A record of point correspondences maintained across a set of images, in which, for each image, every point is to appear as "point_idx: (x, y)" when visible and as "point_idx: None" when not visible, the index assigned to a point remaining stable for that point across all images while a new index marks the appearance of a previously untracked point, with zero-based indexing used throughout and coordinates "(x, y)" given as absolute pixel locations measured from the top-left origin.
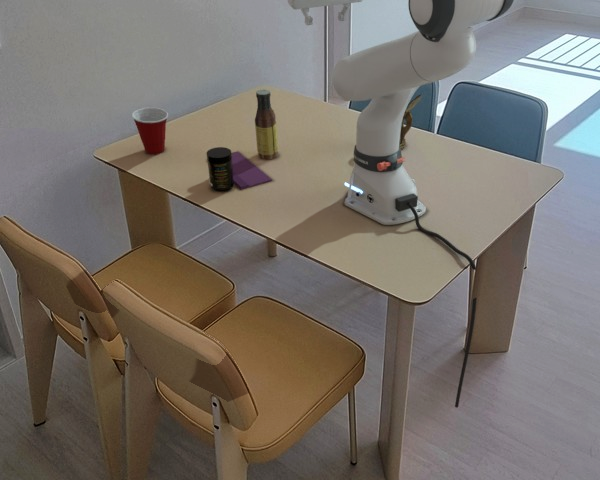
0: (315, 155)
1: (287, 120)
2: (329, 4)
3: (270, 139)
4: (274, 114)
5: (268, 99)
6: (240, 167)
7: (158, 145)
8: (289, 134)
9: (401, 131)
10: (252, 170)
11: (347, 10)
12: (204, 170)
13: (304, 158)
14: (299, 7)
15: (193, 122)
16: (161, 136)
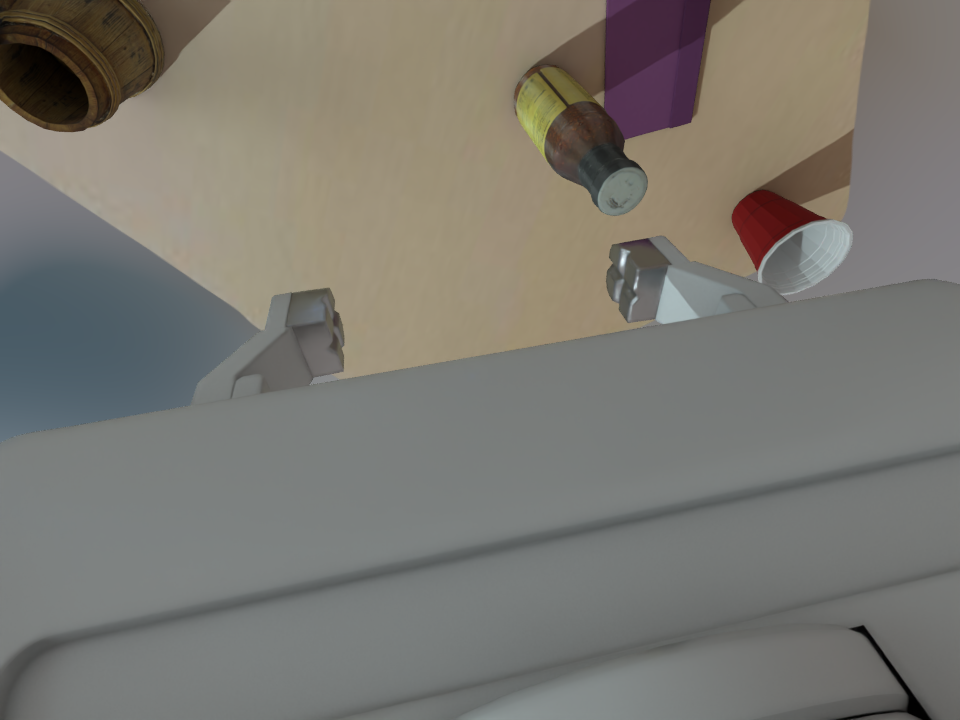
0: (401, 45)
1: (420, 292)
2: (514, 353)
3: (564, 85)
4: (563, 139)
5: (605, 162)
6: (650, 28)
7: (769, 199)
8: (438, 216)
9: (14, 2)
10: None
11: (245, 353)
12: (732, 55)
13: (443, 33)
14: (910, 289)
15: (613, 317)
16: (772, 212)
